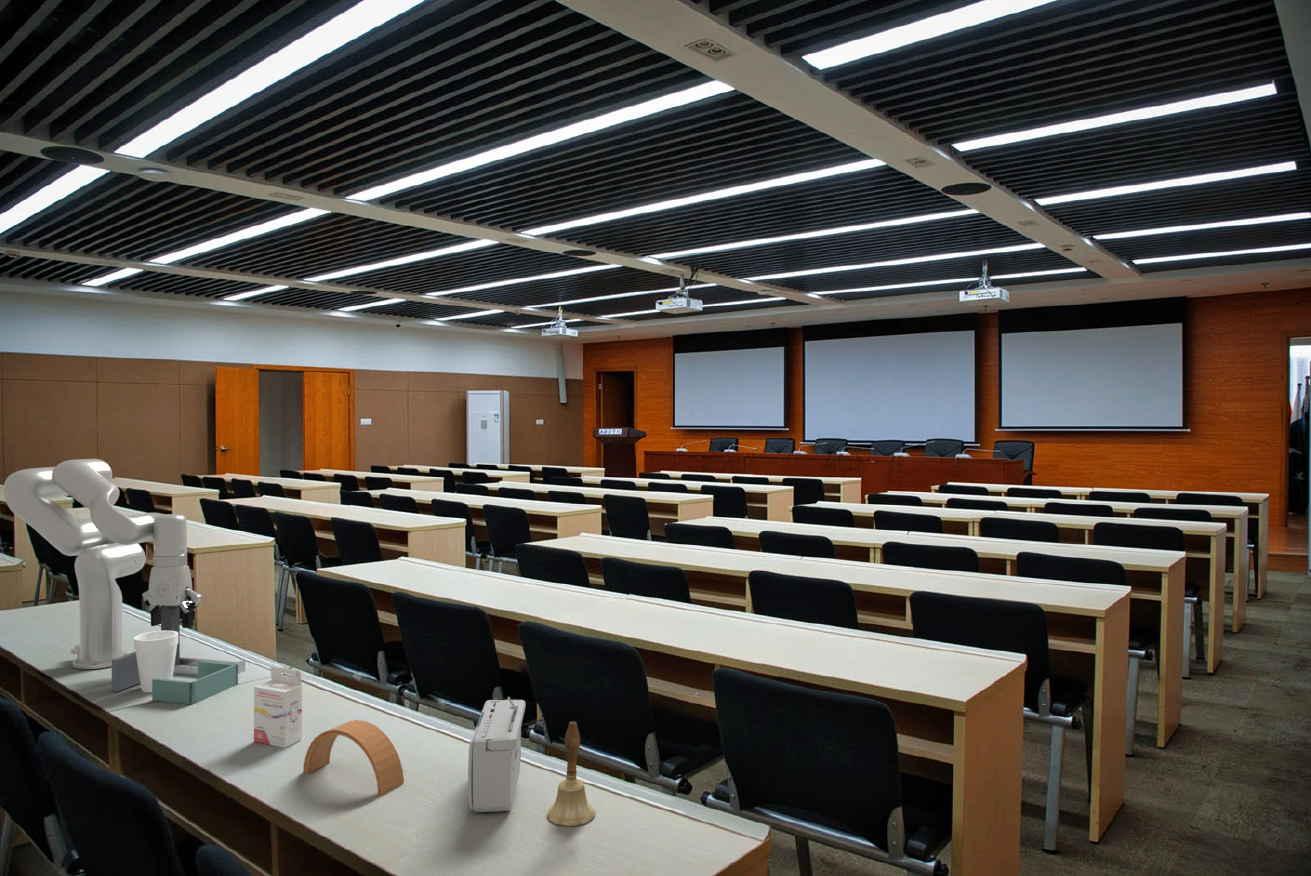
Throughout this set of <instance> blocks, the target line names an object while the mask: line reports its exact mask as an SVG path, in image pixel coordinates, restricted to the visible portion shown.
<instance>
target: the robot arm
mask: <svg viewBox="0 0 1311 876" xmlns="http://www.w3.org/2000/svg"><path fill="white" fill-rule="evenodd" d="M112 479H113V472H112V468H111V467H110V465H109V464H108V463H107V462H105V461H104V460H102V459H100V458H99V459H98V458H84V459H83V458H82V459H69V460H64V461H62V462H59V463H58V464H57V465H56V466H49V467H48V466H46V467H33V468H25V469H21V470H17V471H15V472H12V473H11V474H10V475H9V476H7V477H6V480H5V481H4V484H3V497H4V499H5V503H6V504H7V507H8V508H9V510H11V512H12V513H13V514H14V515H15V516H16V517H17V518H18V519H20V520H21V521H23V522H24V523H26V524H27V525H28V526H30V527H31V528H32V529H34V530H35V531H36V532H37V533H38V534H39V535H40V536H41V537H42V538H44V540H46V541H47V542H48V543H49V544H50V545H51V546H53V547H54V548H55V549H56V550H58V551H59V552H60V553H61V554H62V555H65V556H68V557H72V556H73V557H74V556H75V557H76V558H75V561H74V571H75V576H76V580H77V586H78V597H79V598H78V599H79V644H76V645H75V646H74V647H73V648H71V649H70V654H72V655H76V659H74V660H73V661H72V667H73V668H75V669H78V670H96V669H97V670H99V669H103V668H110V667H111V668H112V659H115V658H118V657H121V656H124V655H127V654H128V653H127V652H124V651H123V595H122V591H121V589H120V586H119V585H118V584H117V581H116V579H118V578H122V577H123V578H124V577H126V576H129V575H133V574H136V573H137V572H139V571H141V570H142V569H143V567H144V566H145V565H146V561H147V560H146V552H145V550H144V549H143V547H142V546H141V545H140V544H142V543H148V542H153V557H152V562H153V564H154V566H152V567H151V569H150V573H149V574H150V575H149V581H148V590H147V591H144V592H143V593H142V595H141V596H142V598H143V601H144V604H145V606H146V607H147V610H148V611H149V612H150V626H151V627H155V626H159V625H161V609H162V608H161V607H162V606H178V607H180V608H181V610H182V611H183V612H182V613H181V626H182V629H187V628H189V627H193V626H194V611H196V609H197V607H198V606H199V605H200V604H199V603H200V601H201V599H202V595H201V594H200V593H198V592H197V591H194V590H193V580H192V575H191V570H190V566H189V565H188V541H187V540H188V537H187V534H188V533H187V518H186V516H185V515H184V514H179V513H175V514H174V513H170V514H169V513H168V514H166V513H165V514H164V513H160V512H147V513H140V514H139V513H137V514H131V515H125V514H124V513H121V511H119V510H117V509H116V508H114V507H113V506H114V505H115V504H116V503H117V501H118V499H119V498H120V497H119V496H120V489H119V487H118V486H117V485H115V483H112ZM68 496H70V497H71V498H72V499H74V500H75V501H77V502H78V503H80V504H81V505H82V506H83V507H85V508H87V510H89V515H90V518H78V517H76V516H75V515H74V514H72V513H71V512H69V510H67V509H66V508H65V507H64V506H62V505H60V504H58V503H57V502H54V501H52V500H49V499H51V498H60V497H68Z"/></svg>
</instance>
